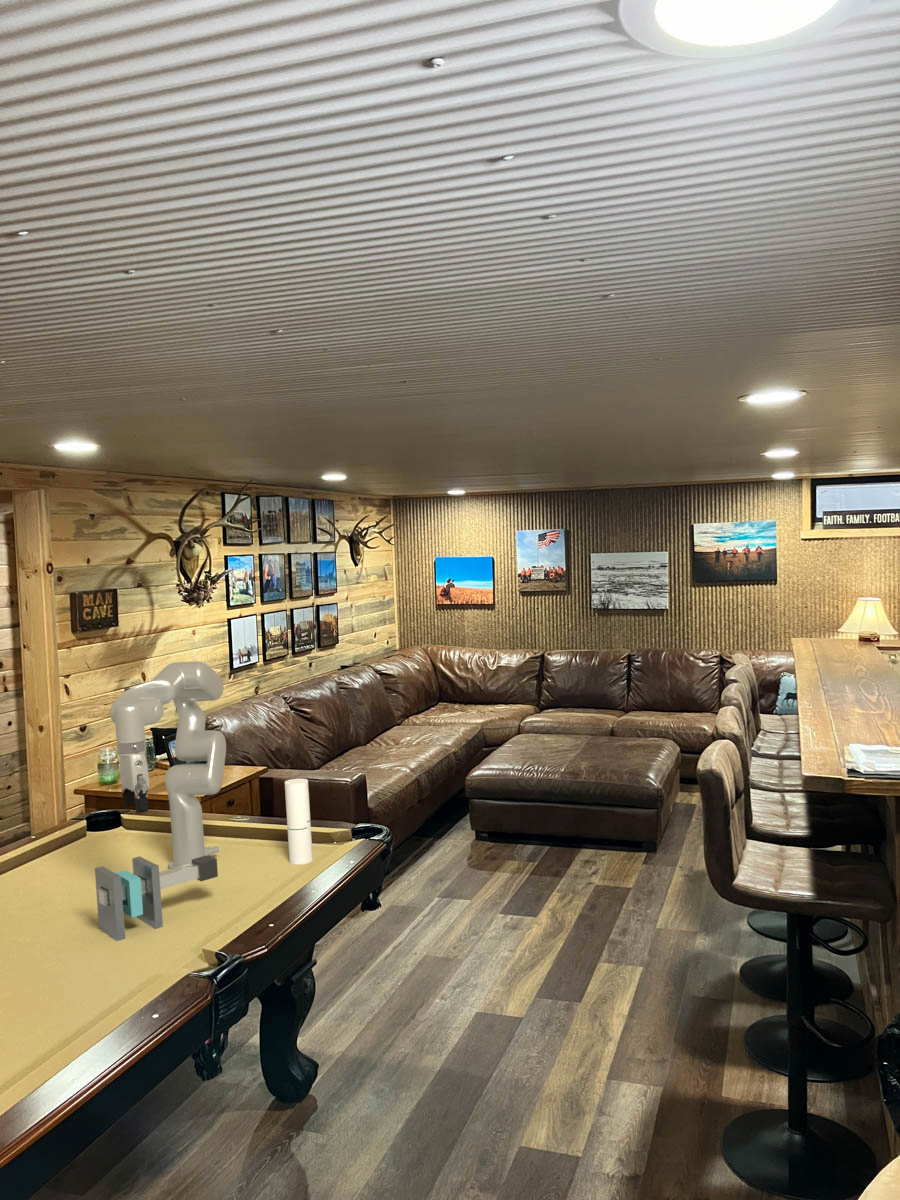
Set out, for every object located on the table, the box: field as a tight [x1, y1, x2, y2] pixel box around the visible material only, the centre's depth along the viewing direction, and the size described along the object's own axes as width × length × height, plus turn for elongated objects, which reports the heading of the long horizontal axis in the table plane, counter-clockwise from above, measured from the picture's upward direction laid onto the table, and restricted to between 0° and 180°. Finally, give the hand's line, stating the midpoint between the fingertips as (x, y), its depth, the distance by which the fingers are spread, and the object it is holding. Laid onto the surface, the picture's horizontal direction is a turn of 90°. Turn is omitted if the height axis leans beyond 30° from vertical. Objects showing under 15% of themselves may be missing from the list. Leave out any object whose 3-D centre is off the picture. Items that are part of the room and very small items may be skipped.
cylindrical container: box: [284, 778, 314, 866], centre depth 286 cm, size 7×7×25 cm
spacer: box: [115, 869, 143, 919], centre depth 239 cm, size 3×10×10 cm, turn 42°
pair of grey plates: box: [94, 856, 164, 942], centre depth 239 cm, size 12×12×16 cm
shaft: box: [98, 855, 219, 906], centre depth 245 cm, size 31×5×5 cm, turn 132°
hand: (135, 809), depth 254 cm, fingers open, 9 cm apart
